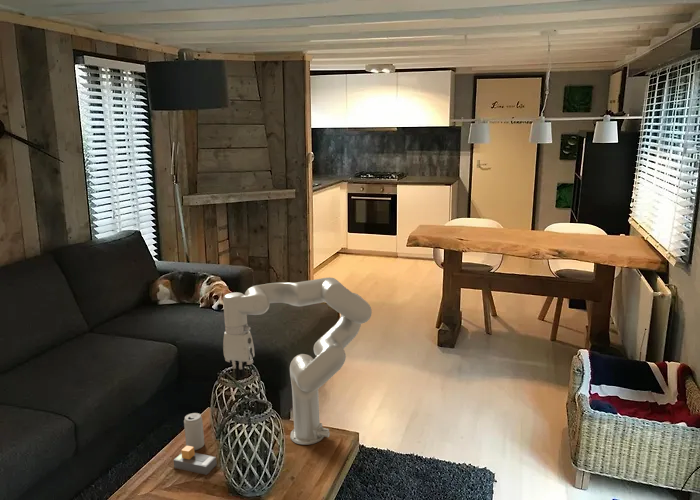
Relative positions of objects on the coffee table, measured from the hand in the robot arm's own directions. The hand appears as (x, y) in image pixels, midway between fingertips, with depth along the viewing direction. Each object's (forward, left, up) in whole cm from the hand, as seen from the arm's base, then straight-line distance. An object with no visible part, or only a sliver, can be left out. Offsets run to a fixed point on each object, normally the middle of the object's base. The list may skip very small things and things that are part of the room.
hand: (240, 378), depth 199 cm
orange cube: (+13, +15, -24) cm, 31 cm away
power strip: (+11, +16, -27) cm, 33 cm away
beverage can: (+18, +5, -27) cm, 33 cm away
